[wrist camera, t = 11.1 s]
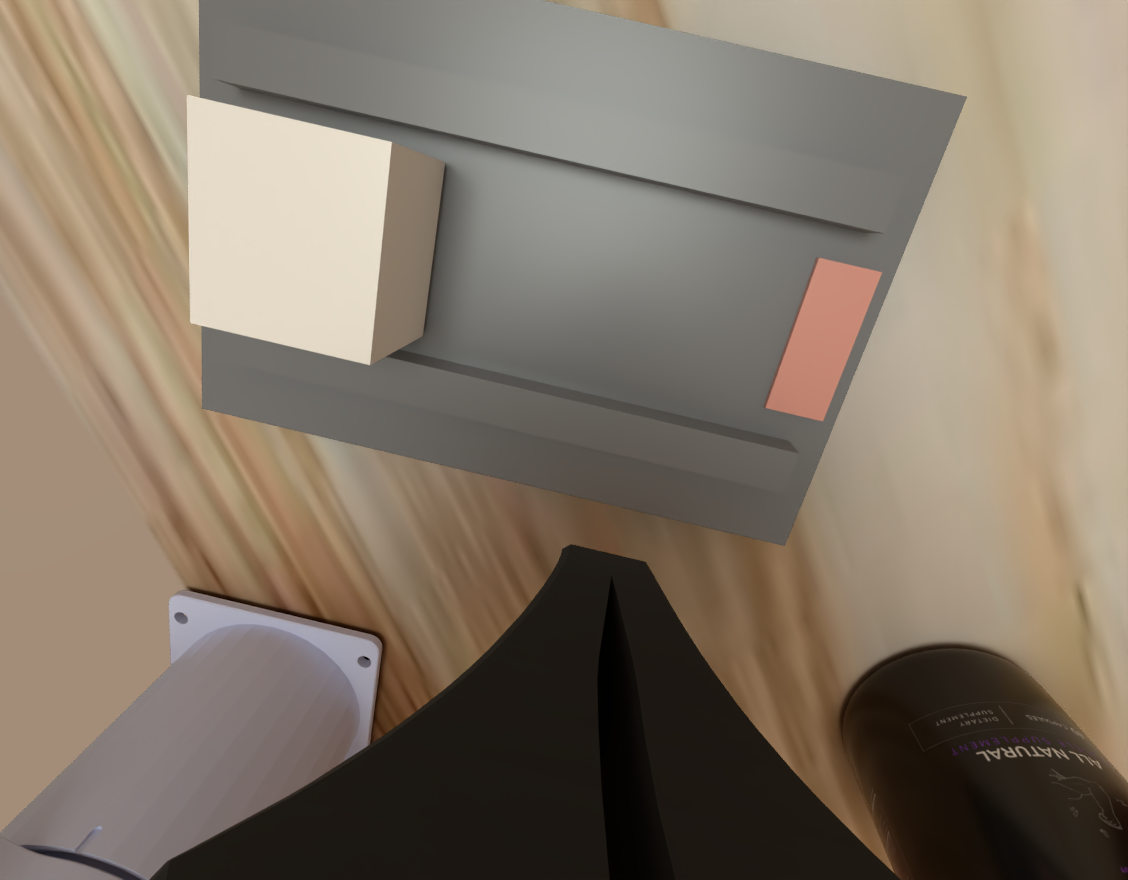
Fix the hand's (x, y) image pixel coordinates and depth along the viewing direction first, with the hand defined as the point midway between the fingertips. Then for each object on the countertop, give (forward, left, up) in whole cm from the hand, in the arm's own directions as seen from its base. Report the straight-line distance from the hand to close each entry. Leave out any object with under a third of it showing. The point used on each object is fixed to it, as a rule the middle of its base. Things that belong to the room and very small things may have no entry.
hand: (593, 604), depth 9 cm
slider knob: (+4, +7, -8) cm, 11 cm away
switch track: (+4, +3, -9) cm, 11 cm away
